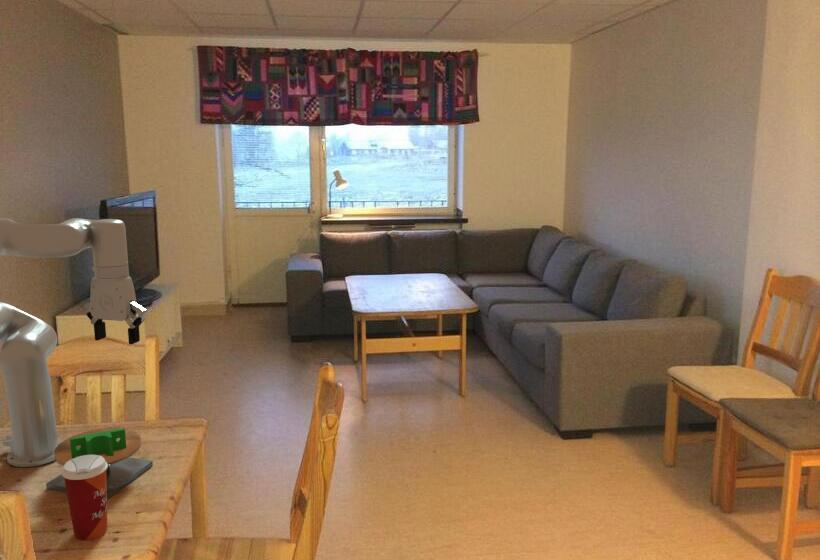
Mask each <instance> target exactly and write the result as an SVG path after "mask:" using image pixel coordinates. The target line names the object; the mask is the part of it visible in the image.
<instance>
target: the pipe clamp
mask: <svg viewBox="0 0 820 560" xmlns="http://www.w3.org/2000/svg"><path fill="white" fill-rule="evenodd" d="M125 429H126V428H125V427H122V428H121V429H115V430H110V431H105V432H99V433H94V434H89V435H83V436H78V437H72V436H71V437H72V438H70V437H69V438H70V445H71V455H72V459H73V458H76V457H79V456H83V455H101V454H107V455H110V456H114V450H119V449H124V448H126V436H125ZM117 438H121V439H120V440H119V441H117V440H116V439H117ZM77 446H81V447H80V448H76V447H77Z"/></svg>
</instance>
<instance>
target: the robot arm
mask: <svg viewBox="0 0 820 560" xmlns="http://www.w3.org/2000/svg"><path fill="white" fill-rule="evenodd" d="M126 229H127V228H126V224H125V222H124V221H123V220H121V219H116V218H102V219H90V218H88V219H87V218H79V217H75V218H74V217H73V218H69V219H67V220H65V221H62V222H61V223H49V224H48V223H47V224H42V223H41V224H38V223H37V224H29V223H20V222H16V221H14V220H13V219H11V218H5V217H0V256H10V257H22V258H35V259H36V258H38V259H39V258H40V259H41V258H42V259H43V258H67V257H72V256H76V255H78V254H79V253H80V252H82V251H84V250H86V249H90V248H92V260H93V265H92V266H91V271H92V272H94V276H93V277H92V278H91V282H90V295H89V296H90V297H89V300H90V301H89V302H87V303H85V304H83V309H84V311H85V313H86V316H87V318H88V319H89V320H90V324H91V325H93V331H94V332H93V333H94V340H95V341H97V342H98V341H100V340H103V339H105V338H107V330H106V329H107V328H106V321H107V320H108V321H116V322H124V321H125V323H126V324H127V325H128V326H129V328H128V329H127V338H128V344H129V345H134V344H136V343H138V342H140V341H141V339H140V338H141V337H140V336H141V335H140V326H141V325H142V324H143V322H144V321H145V319H146V318H145V317H146V316H147V314H148V310H147V309H146V308H145V307H143V306H142V305H140V304H138V303H137V297H136V291H135V287H134V282H133V279H132V277H131V276H130V272H129V271H130V270H129V269H130V268H129V258H128V257H129V256H128V245H127V231H126ZM137 314H138V315H137ZM103 320H106V321H103ZM0 343H1V344H2V346H1V348H0V368H1V372H2V375H3V379H4V384H5V390H6V398H7V403H8V404H7V405H8V413H9V421H10V430H11V433H9V434H7V435H6V437H5V440H3V441H2V446H3V447H9V449H10V451H9V452H8V454H7V457H6V459H7V463H8V464H9V465H11V466H14V467H18V468H30V467H31V468H32V467H38V466H43V465H45V464H50V463H52V462H53V461H56V459H55V449H56V447H57V446H58V445H59V444H60V443H61V442H62V441H59V440H58V433H57V422H56V414H55V403H54V393H53V387H52V386H53V385H52V379H51V375H50V372H49V368H48V362H47V361H48V358H49V356H50V355H51V354H52V353H53V352H54V351H55V349H56V347H57V345H58V335H57V332H56V331H55V329H54V327H52V326H51V325H50V324H48V323H47V322H45V321H43V320H42V319H40V318H37V317H36V316H33V315H32V314H29V313H28V312H25V311H23V310H21V309H19V308H16V307H15V306H13V305H10V304H9V303H5V302H2V301H0Z"/></svg>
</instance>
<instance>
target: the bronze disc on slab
mask: <svg viewBox="0 0 820 560" xmlns="http://www.w3.org/2000/svg"><path fill="white" fill-rule="evenodd" d="M115 429H121V428H120V427H112V428H111V427H108V428H107V427H106V428H99V429H92V430H88V431H83V432H80V433H78V434H75V435H72V436H70V437H68V438H66V439H64V440H63V441H60V442H61V443H60V444H59V445H58V446H57V447H56V449H55V459H56V460H55V461H56V463H57V464H59V465H61V466H63V467H64V465H65V463H66V462H67V461H69V460H71V459H72V455H71V445H70V438H72V437H78V436H83V435H89V434H94V433H99V432H105V431H110V430H115ZM124 429H125V436H126V448H124V449H119V450H114V456H110V455H107V454H101V455H99V456H102V457H103V458H104V459H105V462H106V463H107V464H108V467H107V469H106V485H107V500H109V499H110V498H112V497H113V496H114V495H115V494H117V493H119V492H120V491H121V490H122V489H123V488H125V487H127V486H128V485H129V484H131V483H132V482H133V481H134V480H135V479H137V478H139V476H141V475H143V474H144V473H145V472H147V471H148V470H149V469H150V468H152V467H153V466H154V464H153V460H148V459H142V458H135V457H132V456H133V455H134V454H136V453H137V452H138V451H140V448H141V447H142V446H141V445H142V438H141V436H140V434H139V433H138V432H137V431H134V430H132V429H131V430H130V429H127V428H124ZM120 439H121V438H117V439H116V440H117V441H119V440H120ZM80 447H81V446H77V447H76V448H80ZM45 486H46V490H52V491H57V492H58V491H59V492H64V493H67V491H66V486H65V480H64V477H63V476H62V473H60V474H59V475H58V476H56V477H54V478H52V479H51V480H49V481H48V482H47V483H45Z"/></svg>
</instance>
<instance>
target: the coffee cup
mask: <svg viewBox="0 0 820 560" xmlns="http://www.w3.org/2000/svg"><path fill="white" fill-rule="evenodd" d="M107 467H108V464H107V463H106V462H105V459H104V458H103V457H102V456H99V455H83V456H79V457H76V458H73V459H71V460H69V461H67V462H66V463H65V465H64V466H63V469H62V470H61V474H62V476H63V477H64V480H65V486H66V491H67V492H66V497H67V501H68V508H69V515H70V519H71V520H70V521H71V525H72V530H73V534H74V535H73V536H74V537H75V539H77V540H80V541H91V540H95V539H98V538H100V537H102V536H103V535H104V534H106V532H108V531H107V530H108V503H107V502H108V499H107V485H106V469H107Z"/></svg>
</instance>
